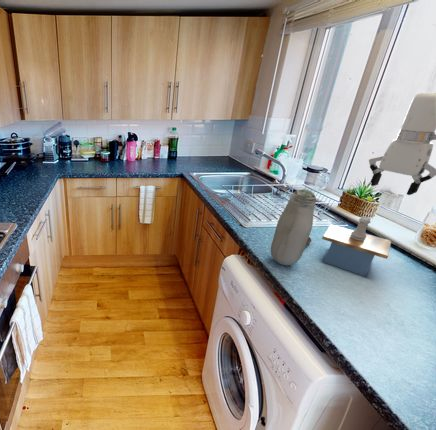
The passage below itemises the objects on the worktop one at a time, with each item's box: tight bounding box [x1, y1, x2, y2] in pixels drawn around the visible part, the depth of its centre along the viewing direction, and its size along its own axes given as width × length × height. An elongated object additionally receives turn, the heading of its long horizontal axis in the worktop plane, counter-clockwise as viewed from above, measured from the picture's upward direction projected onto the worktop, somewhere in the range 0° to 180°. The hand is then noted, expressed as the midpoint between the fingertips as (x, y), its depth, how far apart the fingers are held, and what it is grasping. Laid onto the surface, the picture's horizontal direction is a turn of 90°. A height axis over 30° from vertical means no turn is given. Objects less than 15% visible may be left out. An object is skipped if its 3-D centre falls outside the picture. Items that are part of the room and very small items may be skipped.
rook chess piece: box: [350, 216, 372, 241], centre depth 100 cm, size 4×4×8 cm
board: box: [321, 223, 392, 260], centre depth 102 cm, size 18×14×1 cm
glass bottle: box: [270, 188, 317, 266], centre depth 100 cm, size 10×10×28 cm
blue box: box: [323, 242, 376, 277], centre depth 104 cm, size 12×12×9 cm
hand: (391, 189), depth 94 cm, fingers open, 9 cm apart
